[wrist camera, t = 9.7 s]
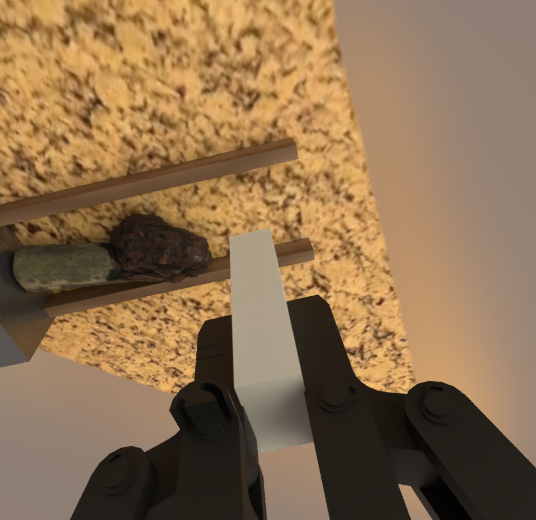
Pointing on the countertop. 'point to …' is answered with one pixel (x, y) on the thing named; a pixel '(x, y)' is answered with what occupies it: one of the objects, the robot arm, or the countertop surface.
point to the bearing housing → (19, 308)
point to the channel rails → (146, 184)
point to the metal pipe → (115, 258)
